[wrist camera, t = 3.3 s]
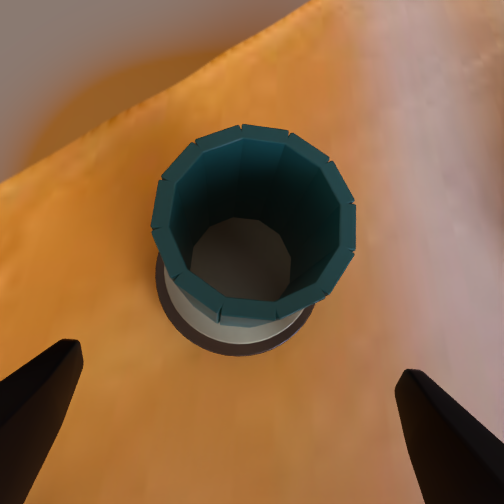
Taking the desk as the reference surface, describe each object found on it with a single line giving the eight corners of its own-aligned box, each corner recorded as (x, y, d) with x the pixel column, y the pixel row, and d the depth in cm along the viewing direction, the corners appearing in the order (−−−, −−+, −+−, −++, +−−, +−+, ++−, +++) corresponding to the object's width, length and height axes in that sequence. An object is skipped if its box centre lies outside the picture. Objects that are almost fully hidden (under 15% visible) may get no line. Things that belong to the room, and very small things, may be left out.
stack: (235, 391, 20) (237, 400, 17) (126, 270, 21) (112, 260, 18) (344, 278, 22) (361, 270, 19) (241, 175, 23) (244, 153, 20)
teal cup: (256, 352, 18) (285, 364, 10) (154, 278, 18) (107, 234, 10) (322, 253, 19) (391, 197, 12) (228, 187, 20) (234, 92, 12)
